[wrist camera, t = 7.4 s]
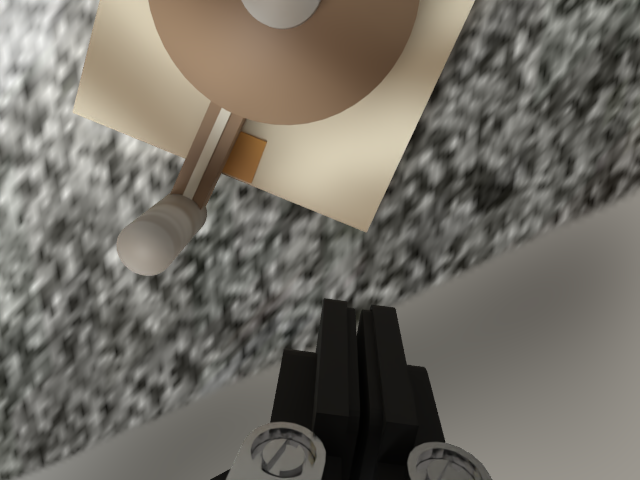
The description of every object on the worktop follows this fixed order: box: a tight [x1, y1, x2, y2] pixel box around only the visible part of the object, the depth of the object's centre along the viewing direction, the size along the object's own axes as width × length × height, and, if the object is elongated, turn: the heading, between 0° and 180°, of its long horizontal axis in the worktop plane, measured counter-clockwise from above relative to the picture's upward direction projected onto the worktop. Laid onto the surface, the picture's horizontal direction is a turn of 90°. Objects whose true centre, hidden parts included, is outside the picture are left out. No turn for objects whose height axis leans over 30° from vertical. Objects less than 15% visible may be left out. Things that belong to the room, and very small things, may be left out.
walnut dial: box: [117, 0, 420, 276], centre depth 18 cm, size 16×10×5 cm, turn 152°
